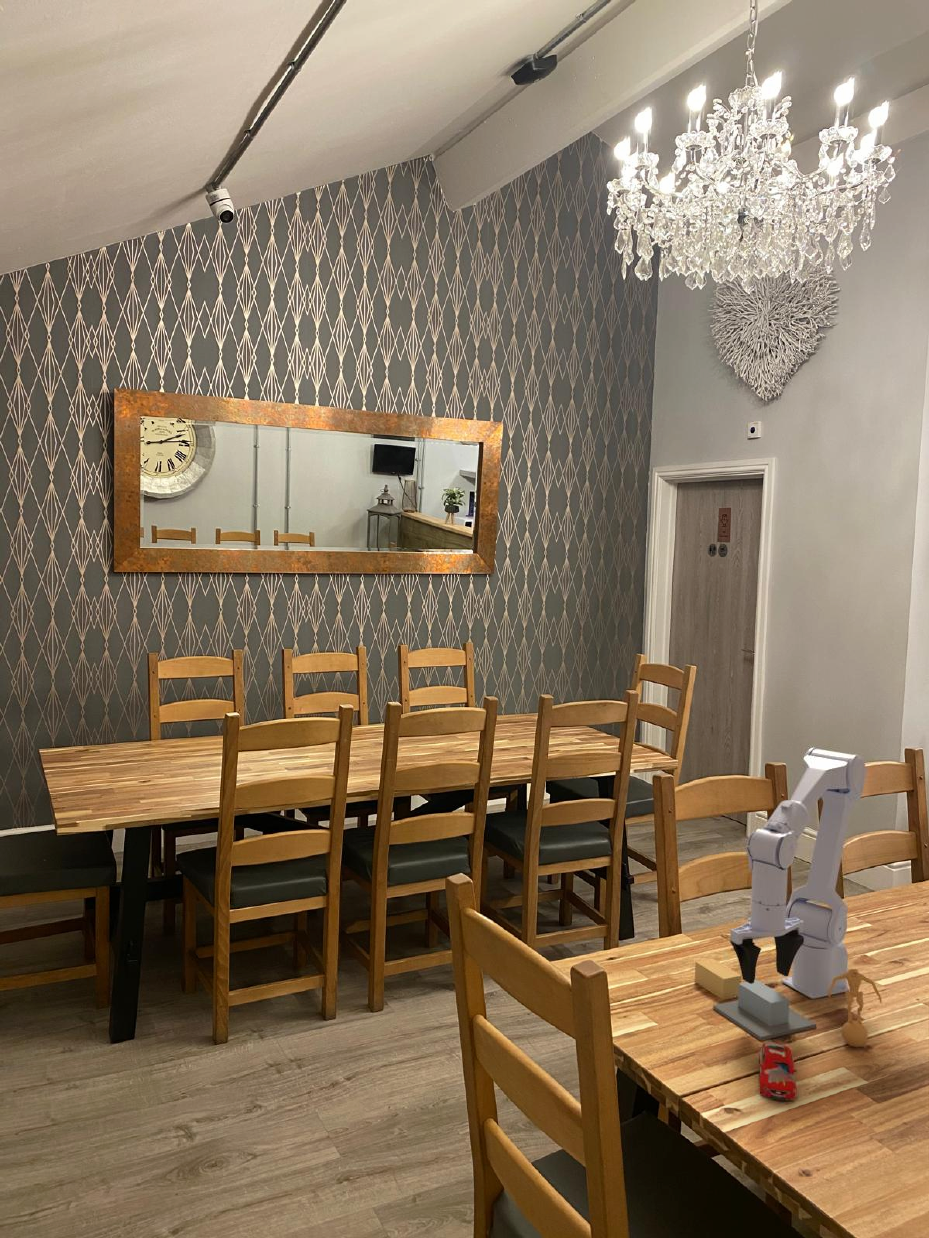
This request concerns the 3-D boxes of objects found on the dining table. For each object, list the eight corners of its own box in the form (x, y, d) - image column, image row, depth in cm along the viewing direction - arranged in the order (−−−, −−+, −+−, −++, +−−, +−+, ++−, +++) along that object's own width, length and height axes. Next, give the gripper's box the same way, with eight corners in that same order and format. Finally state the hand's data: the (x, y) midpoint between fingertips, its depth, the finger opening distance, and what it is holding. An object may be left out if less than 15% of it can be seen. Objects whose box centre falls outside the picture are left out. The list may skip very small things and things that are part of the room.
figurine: (829, 1047, 154) (832, 975, 153) (823, 1030, 159) (826, 960, 159) (883, 1054, 152) (887, 981, 151) (876, 1036, 158) (879, 966, 157)
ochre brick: (711, 978, 179) (712, 958, 179) (740, 996, 172) (741, 975, 171) (694, 982, 177) (695, 961, 177) (722, 1000, 170) (723, 979, 170)
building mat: (766, 997, 171) (766, 993, 171) (816, 1027, 160) (816, 1023, 160) (713, 1008, 166) (713, 1005, 166) (760, 1040, 155) (760, 1036, 155)
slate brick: (755, 1001, 168) (756, 979, 168) (788, 1021, 161) (789, 998, 161) (737, 1005, 166) (738, 983, 166) (770, 1026, 159) (771, 1002, 159)
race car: (796, 1108, 137) (798, 1082, 136) (757, 1101, 138) (758, 1074, 138) (795, 1063, 149) (796, 1038, 149) (759, 1056, 151) (760, 1032, 150)
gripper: (784, 887, 169) (781, 961, 170) (719, 897, 163) (716, 974, 164) (814, 900, 162) (810, 977, 163) (747, 911, 156) (744, 991, 157)
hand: (765, 977), depth 163 cm, fingers open, 7 cm apart
